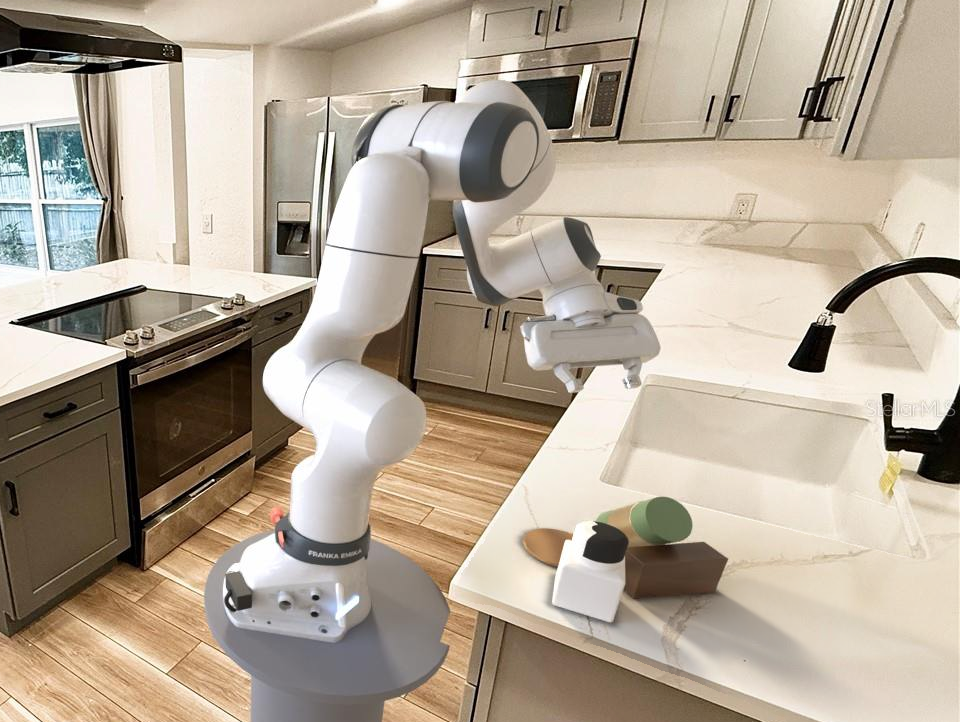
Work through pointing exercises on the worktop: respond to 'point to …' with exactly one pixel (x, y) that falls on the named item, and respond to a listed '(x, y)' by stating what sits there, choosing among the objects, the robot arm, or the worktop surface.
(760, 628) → the worktop surface
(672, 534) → the tin can
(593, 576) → the medicine bottle
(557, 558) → the cork coaster
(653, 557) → the brown rectangular block
